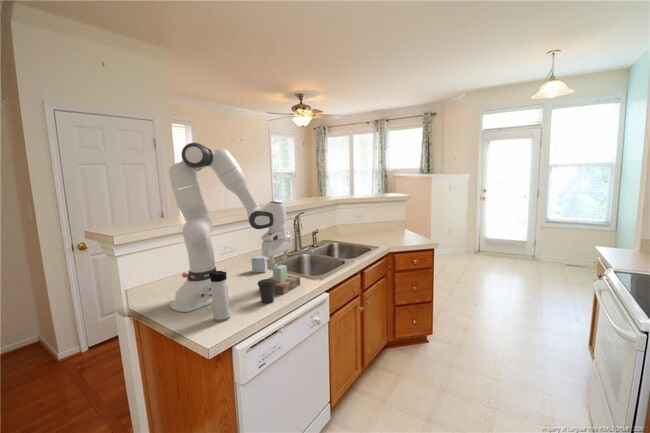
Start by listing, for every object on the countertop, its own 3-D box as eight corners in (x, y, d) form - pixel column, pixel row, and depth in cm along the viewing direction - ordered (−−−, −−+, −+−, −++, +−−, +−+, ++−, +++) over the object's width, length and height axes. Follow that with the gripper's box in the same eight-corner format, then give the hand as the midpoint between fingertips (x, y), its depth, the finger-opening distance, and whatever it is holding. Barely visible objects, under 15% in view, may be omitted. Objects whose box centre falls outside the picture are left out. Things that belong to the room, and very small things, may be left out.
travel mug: (210, 320, 120) (205, 272, 117) (223, 313, 126) (219, 267, 123) (219, 324, 117) (215, 275, 114) (233, 317, 122) (229, 270, 119)
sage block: (281, 282, 148) (280, 268, 147) (273, 280, 151) (272, 267, 150) (287, 278, 153) (286, 265, 151) (279, 277, 155) (279, 264, 154)
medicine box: (267, 270, 180) (266, 256, 178) (265, 272, 175) (264, 258, 174) (254, 270, 180) (253, 256, 179) (252, 272, 176) (251, 258, 175)
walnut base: (283, 294, 143) (283, 286, 142) (261, 289, 150) (260, 282, 149) (300, 284, 155) (299, 277, 154) (278, 280, 162) (278, 273, 161)
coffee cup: (268, 306, 131) (266, 284, 129) (254, 302, 135) (253, 281, 133) (280, 299, 137) (279, 279, 136) (267, 296, 142) (266, 276, 140)
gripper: (285, 229, 159) (286, 255, 161) (259, 237, 141) (260, 265, 143) (295, 231, 155) (296, 256, 157) (269, 238, 138) (270, 267, 140)
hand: (278, 261), depth 150 cm, fingers open, 8 cm apart
